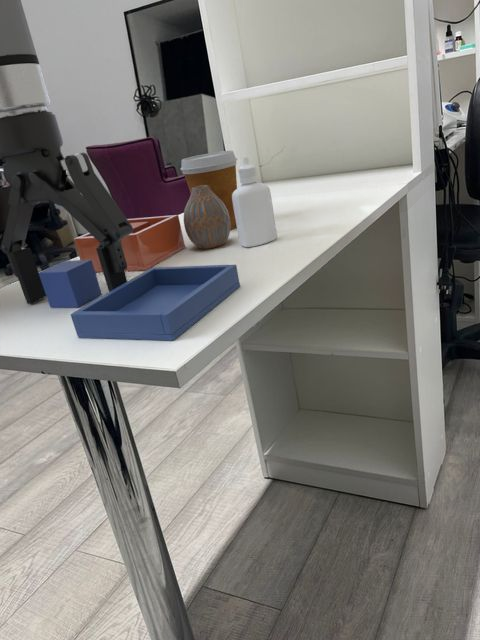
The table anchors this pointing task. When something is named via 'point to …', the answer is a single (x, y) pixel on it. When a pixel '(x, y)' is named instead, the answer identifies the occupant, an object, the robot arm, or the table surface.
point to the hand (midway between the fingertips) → (77, 299)
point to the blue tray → (157, 303)
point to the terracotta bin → (140, 244)
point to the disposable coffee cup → (214, 176)
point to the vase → (206, 218)
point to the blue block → (70, 284)
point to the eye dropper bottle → (253, 209)
